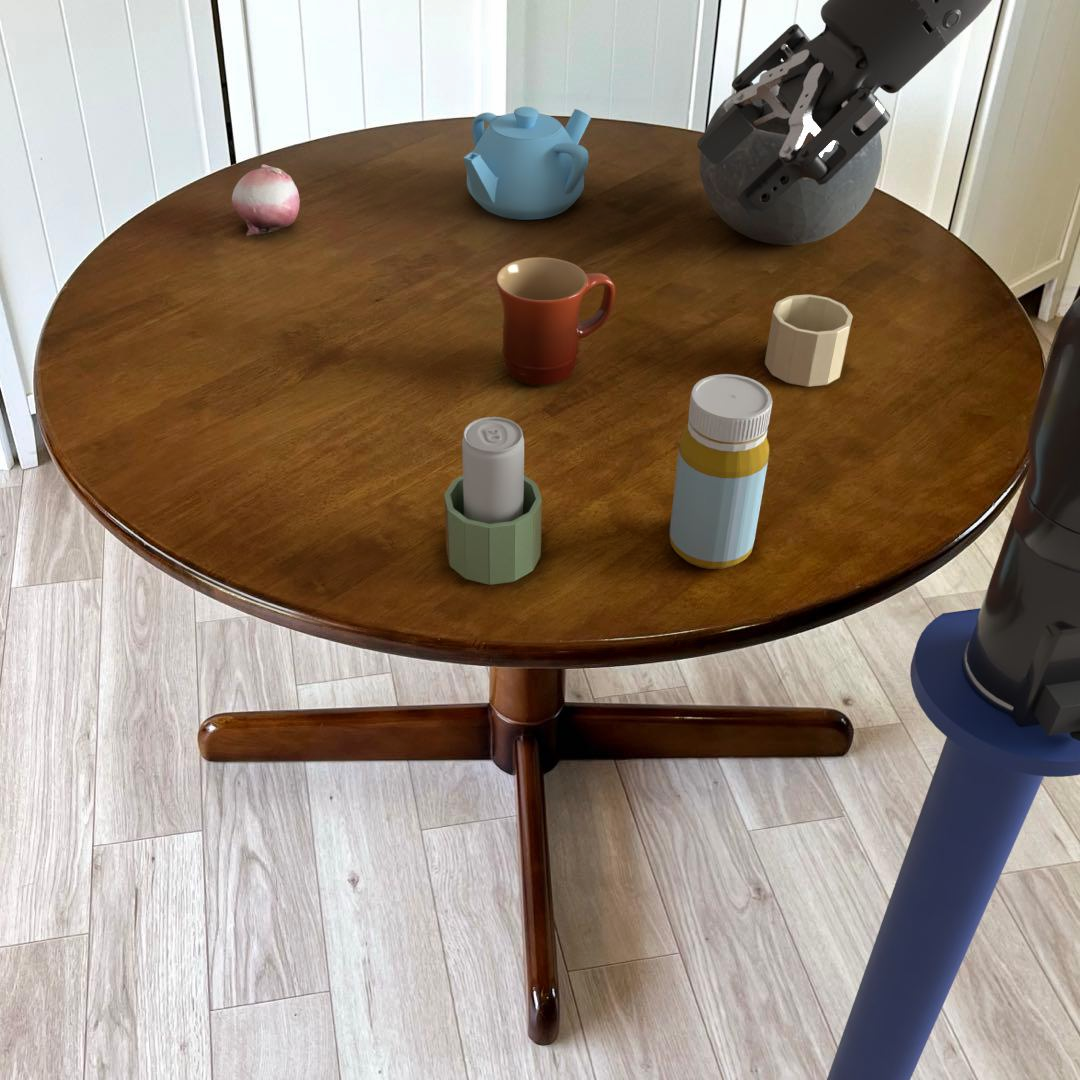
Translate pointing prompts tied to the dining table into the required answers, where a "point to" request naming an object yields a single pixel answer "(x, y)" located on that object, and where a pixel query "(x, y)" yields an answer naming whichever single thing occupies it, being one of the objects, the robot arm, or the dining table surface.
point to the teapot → (527, 163)
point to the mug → (546, 317)
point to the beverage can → (493, 470)
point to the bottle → (721, 471)
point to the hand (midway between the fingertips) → (723, 180)
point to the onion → (266, 199)
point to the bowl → (803, 204)
